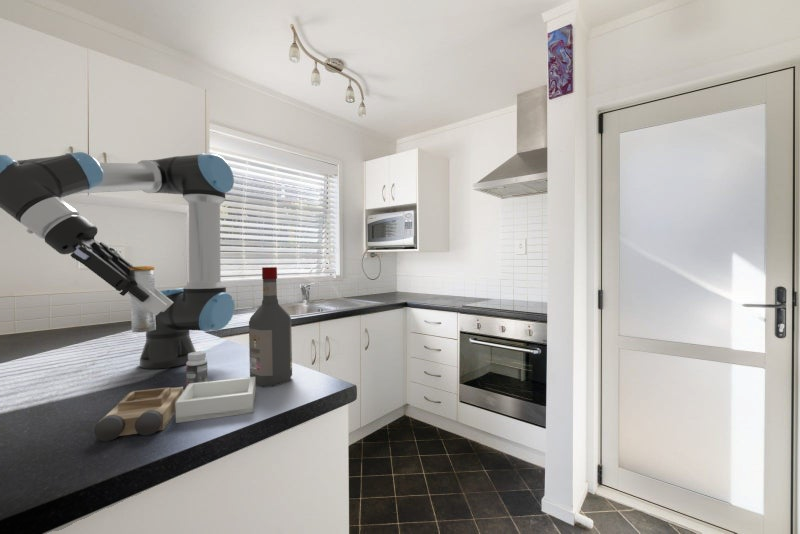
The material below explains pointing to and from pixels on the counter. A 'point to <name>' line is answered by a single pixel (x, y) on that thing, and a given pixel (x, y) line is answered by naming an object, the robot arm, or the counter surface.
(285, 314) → the liquor
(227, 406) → the tray
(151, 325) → the gold capped bottle
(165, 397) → the trolley block
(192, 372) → the pill bottle
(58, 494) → the counter surface
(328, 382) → the counter surface
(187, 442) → the counter surface
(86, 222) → the robot arm
